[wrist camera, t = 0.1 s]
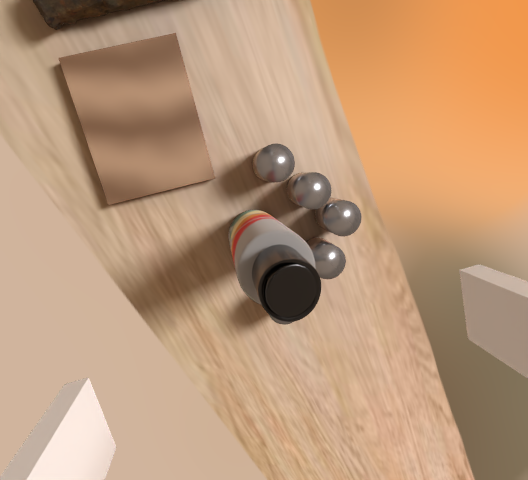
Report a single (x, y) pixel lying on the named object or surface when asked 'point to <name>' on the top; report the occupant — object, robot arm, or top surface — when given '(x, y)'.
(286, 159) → the steel spacers
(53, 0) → the hand tool
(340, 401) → the top surface
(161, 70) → the brown wooden flat board
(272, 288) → the lotion bottle
